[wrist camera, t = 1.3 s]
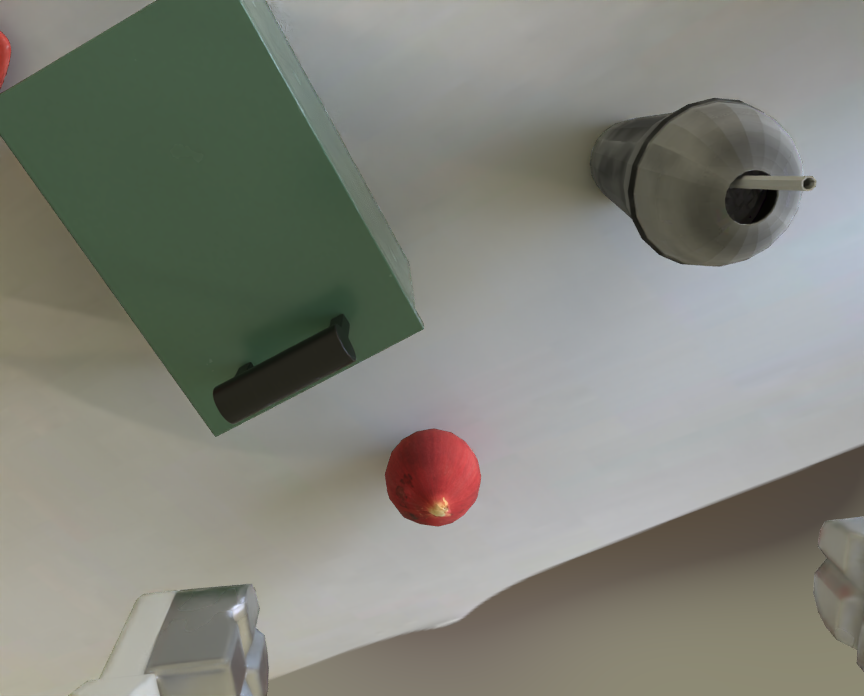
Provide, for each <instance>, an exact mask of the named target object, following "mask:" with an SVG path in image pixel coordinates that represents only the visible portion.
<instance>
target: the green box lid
mask: <svg viewBox="0 0 864 696" xmlns="http://www.w3.org/2000/svg"><path fill="white" fill-rule="evenodd" d="M0 136H1V137H2V138H3V140H4V141H5V143H6V144H7V145H8V147H9V148H10V150H11V151H12V152H13V154H14V155H15V157H16V158H17V159H18V161H19V162H20V164H21V165H22V166H23V168H24V169H25V171H26V172H27V173H28V175H29V176H30V178H31V179H32V180H33V182H34V183H35V185H36V186H37V187H38V189H39V190H40V192H41V193H42V194H43V196H44V197H45V199H46V200H47V201H48V203H49V204H50V206H51V207H52V208H53V210H54V211H55V213H56V214H57V216H58V217H59V218H60V220H61V221H62V223H63V224H64V225H65V227H66V228H67V230H68V231H69V232H70V234H71V235H72V237H73V238H74V239H75V241H76V242H77V244H78V245H79V246H80V248H81V249H82V251H83V252H84V253H85V255H86V256H87V258H88V259H89V260H90V262H91V263H92V265H93V266H94V267H95V269H96V270H97V272H98V273H99V274H100V276H101V277H102V279H103V280H104V281H105V283H106V284H107V286H108V287H109V288H110V290H111V291H112V293H113V294H114V295H115V297H116V298H117V300H118V301H119V302H120V304H121V305H122V307H123V308H124V309H125V311H126V312H127V314H128V315H129V316H130V318H131V319H132V321H133V322H134V324H135V325H136V326H137V328H138V329H139V331H140V332H141V333H142V335H143V336H144V338H145V339H146V340H147V342H148V343H149V345H150V346H151V347H152V349H153V350H154V352H155V353H156V354H157V356H158V357H159V359H160V360H161V361H162V363H163V364H164V366H165V367H166V368H167V370H168V371H169V373H170V374H171V375H172V377H173V378H174V380H175V381H176V382H177V384H178V385H179V387H180V388H181V389H182V391H183V392H184V394H185V395H186V396H187V398H188V399H189V401H190V402H191V403H192V405H193V406H194V408H195V409H196V410H197V412H198V413H199V415H200V416H201V417H202V419H203V420H204V422H205V423H206V425H207V426H208V427H209V429H210V430H211V432H212V433H213V434H214V436H215V437H217V436H219V435H221V434H223V433H225V432H227V431H229V430H230V429H232V428H234V427H236V426H238V425H240V424H242V423H244V422H246V421H248V420H250V419H252V418H254V417H255V416H257V415H259V414H261V413H263V412H265V411H267V410H269V409H271V408H273V407H275V406H277V405H279V404H281V403H282V402H284V401H286V400H288V399H290V398H292V397H294V396H296V395H298V394H300V393H302V392H304V391H306V390H307V389H309V388H311V387H313V386H315V385H317V384H319V383H321V382H323V381H325V380H327V379H329V378H331V377H333V376H334V375H336V374H338V373H340V372H342V371H344V370H346V369H348V368H350V367H352V366H354V365H356V364H358V363H360V362H361V361H363V360H365V359H367V358H369V357H371V356H373V355H375V354H377V353H379V352H381V351H383V350H385V349H386V348H388V347H390V346H392V345H394V344H396V343H398V342H400V341H402V340H404V339H406V338H408V337H410V336H412V335H413V334H415V333H417V332H419V331H421V330H423V329H424V324H423V322H422V320H421V318H420V316H419V315H418V313H417V311H416V309H415V307H414V306H413V304H412V302H411V300H410V298H409V297H408V295H407V293H406V291H405V290H404V288H403V286H402V284H401V282H400V281H399V279H398V277H397V275H396V273H395V272H394V270H393V268H392V266H391V264H390V263H389V261H388V259H387V257H386V256H385V254H384V252H383V250H382V248H381V247H380V245H379V243H378V241H377V239H376V238H375V236H374V234H373V232H372V231H371V229H370V227H369V225H368V223H367V222H366V220H365V218H364V216H363V214H362V213H361V211H360V209H359V207H358V205H357V204H356V202H355V200H354V198H353V197H352V195H351V193H350V191H349V189H348V188H347V186H346V184H345V182H344V180H343V179H342V177H341V175H340V173H339V172H338V170H337V168H336V166H335V164H334V163H333V161H332V159H331V157H330V155H329V154H328V152H327V150H326V148H325V146H324V145H323V143H322V141H321V139H320V138H319V136H318V134H317V132H316V130H315V129H314V127H313V125H312V123H311V121H310V120H309V118H308V116H307V114H306V113H305V111H304V109H303V107H302V105H301V104H300V102H299V100H298V98H297V96H296V95H295V93H294V91H293V89H292V87H291V86H290V84H289V82H288V80H287V79H286V77H285V75H284V73H283V71H282V70H281V68H280V66H279V64H278V62H277V61H276V59H275V57H274V55H273V54H272V52H271V50H270V48H269V46H268V45H267V43H266V41H265V39H264V37H263V36H262V34H261V32H260V30H259V28H258V27H257V25H256V23H255V21H254V20H253V18H252V16H251V14H250V12H249V11H248V9H247V7H246V5H245V3H244V2H243V0H156V1H155V2H153V3H151V4H150V5H148V6H146V7H145V8H143V9H141V10H140V11H138V12H136V13H135V14H133V15H131V16H130V17H128V18H126V19H125V20H123V21H121V22H120V23H118V24H116V25H115V26H113V27H111V28H110V29H108V30H106V31H105V32H103V33H101V34H99V35H98V36H96V37H94V38H93V39H91V40H89V41H88V42H86V43H84V44H83V45H81V46H79V47H78V48H76V49H74V50H73V51H71V52H69V53H68V54H66V55H64V56H63V57H61V58H59V59H58V60H56V61H54V62H53V63H51V64H49V65H48V66H46V67H44V68H43V69H41V70H39V71H38V72H36V73H34V74H33V75H31V76H29V77H28V78H26V79H24V80H23V81H21V82H19V83H18V84H16V85H14V86H13V87H11V88H9V89H8V90H6V91H4V92H3V93H1V94H0Z"/></svg>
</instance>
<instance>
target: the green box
mask: <svg viewBox="0 0 864 696" xmlns="http://www.w3.org/2000/svg"><path fill="white" fill-rule="evenodd" d="M243 2H244V3H245V5H246V7H247V9H248V11H249V12H250V14H251V16H252V18H253V20H254V21H255V23H256V25H257V27H258V28H259V30H260V32H261V34H262V36H263V37H264V39H265V41H266V43H267V45H268V46H269V48H270V50H271V52H272V54H273V55H274V57H275V59H276V61H277V62H278V64H279V66H280V68H281V70H282V71H283V73H284V75H285V77H286V79H287V80H288V82H289V84H290V86H291V87H292V89H293V91H294V93H295V95H296V96H297V98H298V100H299V102H300V104H301V105H302V107H303V109H304V111H305V113H306V114H307V116H308V118H309V120H310V121H311V123H312V125H313V127H314V129H315V130H316V132H317V134H318V136H319V138H320V139H321V141H322V143H323V145H324V146H325V148H326V150H327V152H328V154H329V155H330V157H331V159H332V161H333V163H334V164H335V166H336V168H337V170H338V172H339V173H340V175H341V177H342V179H343V180H344V182H345V184H346V186H347V188H348V189H349V191H350V193H351V195H352V197H353V198H354V200H355V202H356V204H357V205H358V207H359V209H360V211H361V213H362V214H363V216H364V218H365V220H366V222H367V223H368V225H369V227H370V229H371V231H372V232H373V234H374V236H375V238H376V239H377V241H378V243H379V245H380V247H381V248H382V250H383V252H384V254H385V256H386V257H387V259H388V261H389V263H390V264H391V266H392V268H393V270H394V272H395V273H396V275H397V277H398V279H399V281H400V282H401V284H402V286H403V288H404V290H405V291H406V293H407V295H408V297H409V298H410V300H411V302H412V304H413V306H414V307H415V303H414V296H413V289H412V282H411V275H410V267H409V262H408V260H407V258H406V256H405V254H404V253H403V251H402V249H401V247H400V245H399V244H398V242H397V240H396V238H395V236H394V234H393V233H392V231H391V229H390V227H389V225H388V224H387V222H386V220H385V218H384V216H383V214H382V213H381V211H380V209H379V207H378V205H377V203H376V202H375V200H374V198H373V196H372V194H371V193H370V191H369V189H368V187H367V185H366V183H365V182H364V180H363V178H362V176H361V174H360V173H359V171H358V169H357V167H356V165H355V163H354V162H353V160H352V158H351V156H350V154H349V153H348V151H347V149H346V147H345V145H344V143H343V142H342V140H341V138H340V136H339V134H338V132H337V131H336V129H335V127H334V125H333V123H332V122H331V120H330V118H329V116H328V114H327V112H326V111H325V109H324V107H323V105H322V103H321V102H320V100H319V98H318V96H317V94H316V92H315V91H314V89H313V87H312V85H311V83H310V82H309V80H308V78H307V76H306V74H305V72H304V71H303V69H302V67H301V65H300V63H299V61H298V60H297V58H296V56H295V54H294V52H293V51H292V49H291V47H290V45H289V43H288V41H287V40H286V38H285V36H284V34H283V32H282V31H281V29H280V27H279V25H278V23H277V21H276V20H275V18H274V16H273V14H272V12H271V11H270V9H269V7H268V5H267V3H266V1H265V0H243Z"/></svg>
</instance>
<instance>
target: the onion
mask: <svg viewBox="0 0 864 696" xmlns="http://www.w3.org/2000/svg"><path fill="white" fill-rule="evenodd" d="M385 479H386V486H387V492H388V495H389V499H390V500H391V501H392V503H393V504H394V505H395V507H396V508H397V509H398V511H399V512H400V513H401V514H402V516H403V517H404V518H407V519H409V520H412V521H414V522H416V523H419V524H424V525H431V526H442V525H446V524H450V523H453V522H454V521H456V520H457V519H459V518H460V517H462V516H463V515H464V514H465V513H466V512H467V511H468V509H469V508H470V507H471V506H472V505H473V504H474V502H475V501H476V499H477V496H478V491H479V487H480V481H481V474H480V469H479V465H478V460H477V458H476V456H475V454H474V453H473V451H472V450H471V449H470V447H469V446H468V444H467V443H466V442H465V441H463V440H462V439H460V438H459V437H457V436H456V435H454V434H453V433H451V432H447V431H442V430H438V429H428V430H423V431H417V432H415V433H413V434H411V435H410V436H408V437H406V438H404V439H403V440H401V442H400V443H399V444H398V445H397V446H396V448H395V449H394V450H393V451H392V453H391V456H390V459H389V462H388V465H387V469H386V472H385Z"/></svg>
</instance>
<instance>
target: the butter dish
mask: <svg viewBox="0 0 864 696" xmlns="http://www.w3.org/2000/svg"><path fill="white" fill-rule="evenodd" d="M10 55H11V46H10V42H9V40H8V39H7V37H6V36H5V35H4V34H3V33H2V32H1V31H0V88H1V86H2V84H3V82H4V77H5V76H6V74H7V69H8V66H9V62H10Z"/></svg>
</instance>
